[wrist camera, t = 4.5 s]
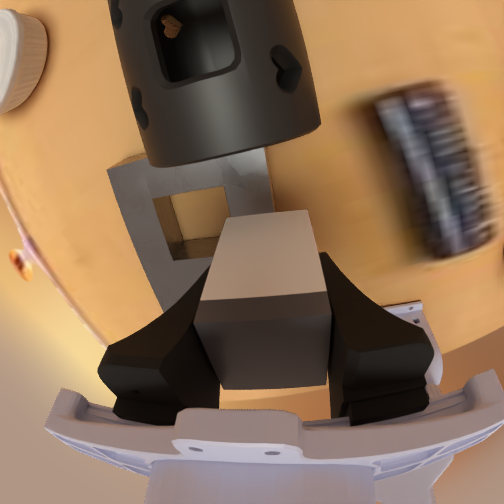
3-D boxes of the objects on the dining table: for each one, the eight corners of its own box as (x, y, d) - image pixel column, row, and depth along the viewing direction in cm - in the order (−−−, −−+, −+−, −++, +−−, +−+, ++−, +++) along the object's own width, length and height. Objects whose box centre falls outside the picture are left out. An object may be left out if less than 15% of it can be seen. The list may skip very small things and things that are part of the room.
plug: (307, 209, 13) (331, 313, 7) (310, 275, 15) (325, 384, 10) (226, 217, 14) (193, 323, 8) (240, 281, 16) (223, 389, 10)
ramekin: (-17, 82, 14) (-50, 91, 10) (29, -4, 10) (-7, -6, 5) (21, 135, 18) (-16, 151, 14) (76, 39, 14) (34, 37, 9)
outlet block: (263, 128, 18) (261, 134, 16) (292, 341, 30) (293, 363, 27) (125, 158, 20) (106, 169, 17) (197, 346, 31) (192, 366, 29)
